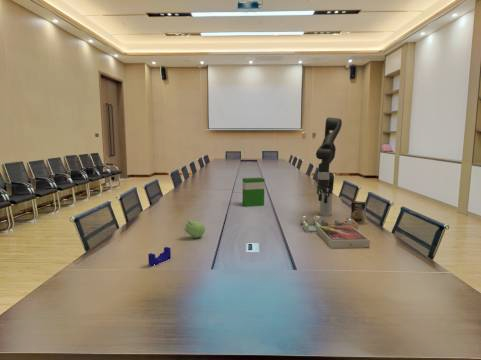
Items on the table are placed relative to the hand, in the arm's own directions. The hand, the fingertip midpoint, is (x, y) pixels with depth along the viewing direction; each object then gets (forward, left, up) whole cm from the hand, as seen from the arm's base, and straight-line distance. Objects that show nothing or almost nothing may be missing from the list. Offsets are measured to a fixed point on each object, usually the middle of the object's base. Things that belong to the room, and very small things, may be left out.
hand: (322, 201), depth 227 cm
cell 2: (-2, -3, -17) cm, 17 cm away
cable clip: (+67, -96, -17) cm, 118 cm away
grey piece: (+10, +4, -17) cm, 20 cm away
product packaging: (+30, +5, -17) cm, 35 cm away
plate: (+10, +4, -14) cm, 18 cm away
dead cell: (+10, +16, -16) cm, 24 cm away
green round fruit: (+28, -84, -17) cm, 90 cm away
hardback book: (-64, -46, -17) cm, 80 cm away
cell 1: (-3, -12, -17) cm, 21 cm away
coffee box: (-4, +26, -17) cm, 31 cm away
